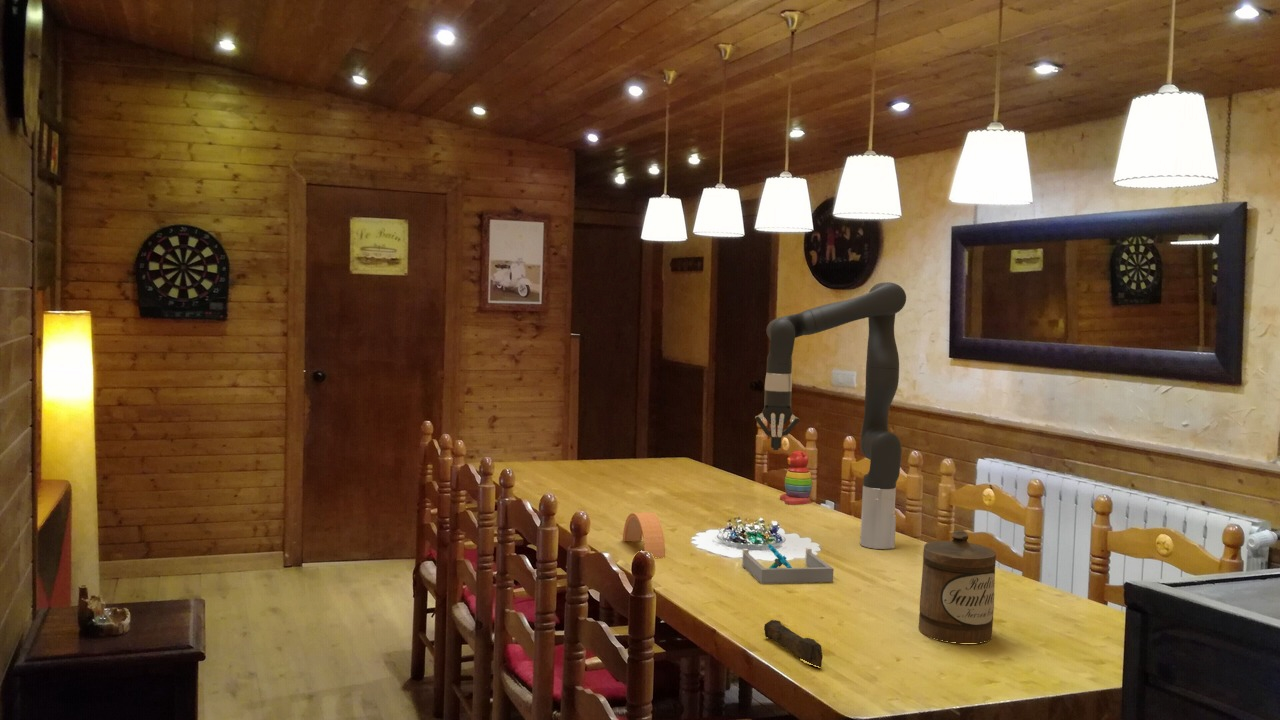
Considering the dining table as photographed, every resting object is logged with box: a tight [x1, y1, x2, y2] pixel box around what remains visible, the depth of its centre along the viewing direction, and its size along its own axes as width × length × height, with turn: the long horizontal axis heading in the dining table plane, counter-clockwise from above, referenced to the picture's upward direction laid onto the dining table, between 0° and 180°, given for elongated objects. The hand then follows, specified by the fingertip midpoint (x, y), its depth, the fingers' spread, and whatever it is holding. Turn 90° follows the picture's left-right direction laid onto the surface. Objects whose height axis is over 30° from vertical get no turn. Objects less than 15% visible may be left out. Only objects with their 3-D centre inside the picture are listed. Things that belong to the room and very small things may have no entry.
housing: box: [741, 547, 834, 585], centre depth 253 cm, size 17×18×4 cm
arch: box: [622, 512, 666, 559], centre depth 273 cm, size 6×20×10 cm, turn 18°
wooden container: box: [918, 529, 997, 643], centre depth 210 cm, size 15×15×22 cm
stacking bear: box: [779, 449, 813, 506], centre depth 346 cm, size 11×10×18 cm
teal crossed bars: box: [767, 543, 793, 568], centre depth 253 cm, size 11×6×10 cm
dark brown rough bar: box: [763, 619, 823, 668], centre depth 196 cm, size 19×4×5 cm, turn 19°
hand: (775, 449), depth 283 cm, fingers closed
